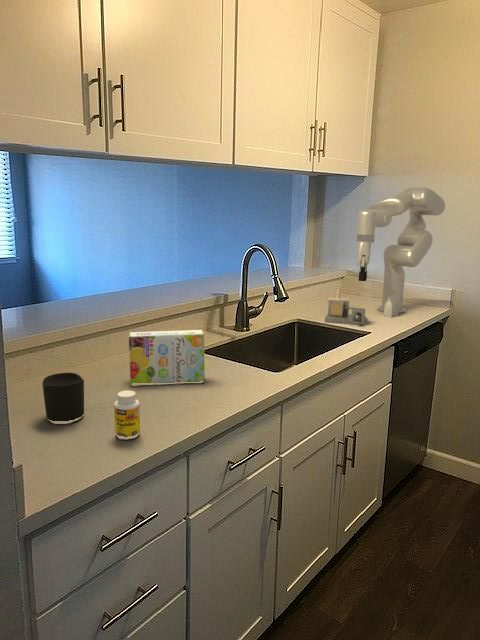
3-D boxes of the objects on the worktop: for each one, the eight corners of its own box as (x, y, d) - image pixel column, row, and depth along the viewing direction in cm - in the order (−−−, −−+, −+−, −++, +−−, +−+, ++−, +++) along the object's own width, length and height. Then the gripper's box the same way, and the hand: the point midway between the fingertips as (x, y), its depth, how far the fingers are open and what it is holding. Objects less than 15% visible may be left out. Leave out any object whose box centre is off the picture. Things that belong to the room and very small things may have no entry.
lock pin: (355, 315, 235) (355, 307, 234) (363, 316, 234) (364, 308, 234) (352, 322, 222) (353, 314, 221) (361, 323, 221) (361, 314, 220)
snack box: (202, 377, 159) (202, 329, 155) (204, 384, 153) (204, 333, 150) (130, 380, 155) (128, 331, 151) (130, 387, 150) (128, 336, 146)
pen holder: (92, 411, 132) (90, 374, 130) (74, 427, 123) (72, 387, 121) (57, 408, 134) (54, 371, 132) (37, 424, 125) (34, 384, 123)
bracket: (328, 316, 241) (329, 300, 239) (365, 319, 236) (366, 302, 235) (324, 322, 229) (325, 305, 228) (363, 325, 225) (365, 308, 223)
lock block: (332, 314, 238) (333, 300, 236) (343, 315, 236) (344, 301, 235) (330, 317, 231) (331, 303, 230) (341, 318, 230) (342, 304, 228)
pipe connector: (349, 312, 249) (351, 291, 247) (328, 312, 249) (329, 291, 247) (345, 308, 259) (347, 288, 257) (325, 307, 259) (326, 287, 257)
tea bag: (398, 315, 245) (400, 294, 243) (391, 317, 240) (392, 296, 238) (390, 314, 247) (392, 293, 245) (383, 316, 243) (385, 295, 240)
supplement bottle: (113, 441, 117) (111, 398, 114) (117, 430, 122) (115, 388, 120) (138, 441, 117) (137, 398, 115) (141, 430, 123) (140, 388, 120)
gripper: (358, 237, 240) (355, 277, 245) (355, 240, 225) (352, 282, 229) (375, 237, 238) (372, 278, 243) (373, 240, 223) (370, 283, 227)
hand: (362, 279), depth 236 cm, fingers open, 3 cm apart
